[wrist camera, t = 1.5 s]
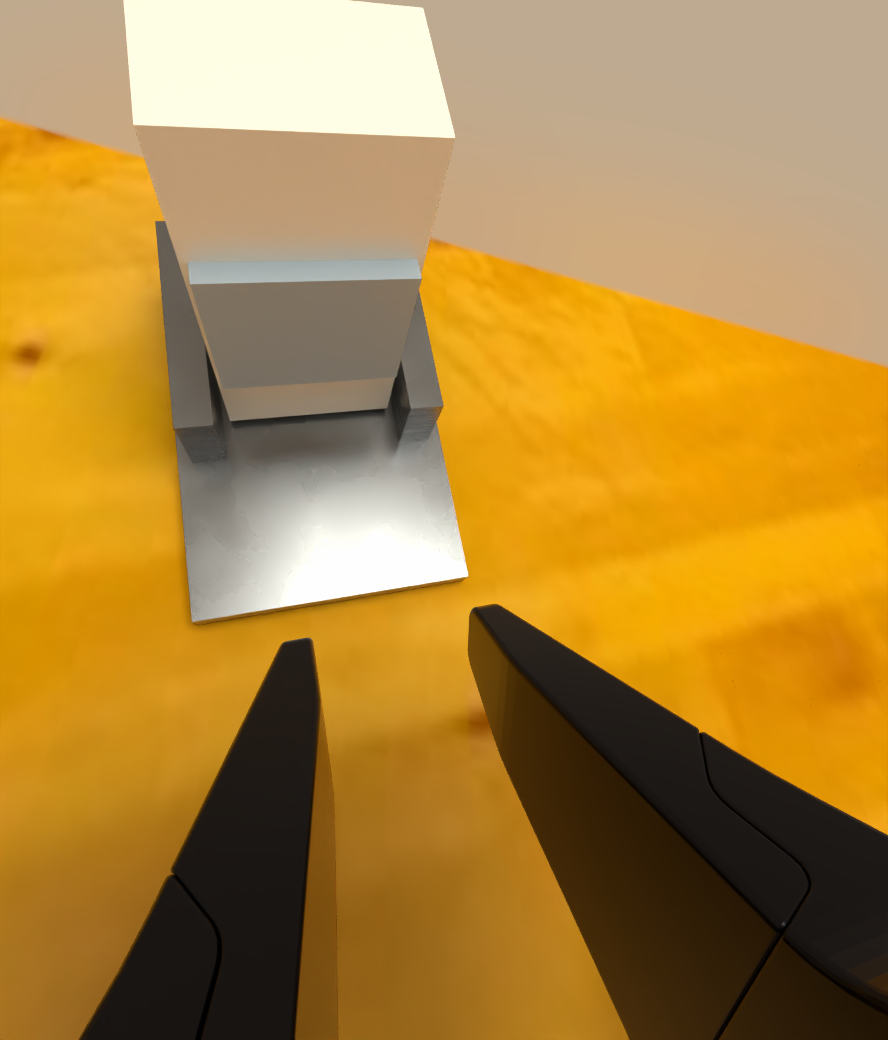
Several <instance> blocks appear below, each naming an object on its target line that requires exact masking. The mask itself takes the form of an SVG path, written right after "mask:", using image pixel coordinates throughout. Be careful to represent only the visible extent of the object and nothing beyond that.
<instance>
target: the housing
mask: <svg viewBox="0 0 888 1040" xmlns="http://www.w3.org/2000/svg"><path fill="white" fill-rule="evenodd" d="M155 223H156V234H157V246H158V257H159V268H160V280H161V291H162V303H163V314H164V326H165V337H166V349H167V360H168V371H169V383H170V394H171V406H172V417H173V429H174V430H175V435H176V446H177V458H178V469H179V480H180V492H181V503H182V514H183V526H184V537H185V548H186V560H187V571H188V582H189V594H190V605H191V617H192V622H193V623H195V624H197V625H200V624H206V623H212V622H218V621H224V620H230V619H236V618H242V617H248V616H254V615H260V614H266V613H272V612H278V611H284V610H290V609H296V608H302V607H308V606H314V605H320V604H326V603H332V602H338V601H344V600H350V599H356V598H362V597H368V596H374V595H380V594H386V593H392V592H398V591H404V590H410V589H416V588H423V587H429V586H435V585H441V584H447V583H453V582H459V581H463V580H464V579H466V578H467V577H468V572H467V567H466V562H465V558H464V553H463V548H462V543H461V538H460V533H459V529H458V524H457V519H456V514H455V509H454V505H453V500H452V495H451V490H450V485H449V481H448V476H447V471H446V466H445V461H444V456H443V452H442V447H441V442H440V437H439V432H438V428H437V423H436V421H437V419H438V417H439V415H440V413H441V410H442V408H443V402H442V397H441V392H440V387H439V383H438V378H437V373H436V369H435V364H434V359H433V355H432V350H431V345H430V340H429V336H428V331H427V326H426V322H425V317H424V312H423V307H422V303H421V298H420V293H419V291H418V295H417V299H416V303H415V307H414V310H413V314H412V318H411V322H410V326H409V330H408V334H407V338H406V342H405V346H404V349H403V353H402V357H401V361H400V365H399V369H398V373H397V377H395V379H394V383H393V387H392V391H391V395H390V399H389V403H388V407H387V408H383V409H371V410H359V411H347V412H334V413H322V414H310V415H298V416H286V417H274V418H262V419H249V420H237V421H230V419H229V416H228V413H227V410H226V407H225V404H224V401H223V398H222V395H221V391H220V388H219V385H218V382H217V379H216V376H215V373H214V370H213V367H212V364H211V361H210V358H209V355H208V352H207V348H206V345H205V342H204V339H203V336H202V333H201V330H200V327H199V324H198V321H197V318H196V315H195V312H194V309H193V306H192V302H191V299H190V296H189V293H188V290H187V287H186V284H185V281H184V278H183V275H182V272H181V269H180V266H179V263H178V260H177V256H176V253H175V250H174V247H173V244H172V241H171V238H170V235H169V232H168V229H167V226H166V223H165V221H155Z"/></svg>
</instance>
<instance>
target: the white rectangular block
mask: <svg viewBox="0 0 888 1040" xmlns="http://www.w3.org/2000/svg"><path fill="white" fill-rule="evenodd" d="M124 11H125V23H126V35H127V48H128V61H129V73H130V86H131V98H132V111H133V123H134V127H135V131H136V134H137V136H138V140H139V143H140V146H141V149H142V152H143V155H144V158H145V161H146V164H147V167H148V171H149V174H150V177H151V180H152V183H153V186H154V189H155V192H156V195H157V198H158V201H159V204H160V207H161V210H162V213H163V217H164V220H165V223H166V226H167V229H168V232H169V235H170V238H171V241H172V244H173V247H174V250H175V253H176V256H177V260H178V263H179V266H180V269H181V272H182V275H183V278H184V281H185V284H186V287H187V290H188V293H189V296H190V299H191V302H192V306H193V309H194V312H195V315H196V318H197V321H198V324H199V327H200V330H201V333H202V336H203V339H204V342H205V345H206V348H207V352H208V355H209V358H210V361H211V364H212V367H213V370H214V373H215V376H216V379H217V382H218V385H219V388H220V391H221V395H222V398H223V401H224V404H225V407H226V410H227V413H228V416H229V419H230V421H237V420H249V419H262V418H274V417H286V416H298V415H310V414H322V413H334V412H347V411H359V410H371V409H383V408H387V407H388V403H389V399H390V395H391V391H392V387H393V383H394V379H395V377H397V373H398V369H399V365H400V361H401V357H402V353H403V349H404V346H405V342H406V338H407V334H408V330H409V326H410V322H411V318H412V314H413V310H414V307H415V303H416V299H417V295H418V291H419V287H420V283H421V279H422V278H421V272H422V268H423V264H424V260H425V256H426V253H427V249H428V245H429V241H430V237H431V233H432V228H433V225H434V220H435V217H436V213H437V209H438V205H439V201H440V197H441V193H442V189H443V185H444V181H445V177H446V173H447V169H448V165H449V161H450V157H451V154H452V150H453V145H454V142H455V134H454V130H453V126H452V123H451V118H450V114H449V111H448V107H447V102H446V98H445V94H444V90H443V87H442V82H441V78H440V75H439V70H438V67H437V62H436V58H435V54H434V50H433V46H432V42H431V38H430V34H429V30H428V26H427V22H426V18H425V14H424V10H423V8H418V7H408V6H398V5H388V4H378V3H368V2H358V1H348V0H124Z"/></svg>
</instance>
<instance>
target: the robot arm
mask: <svg viewBox="0 0 888 1040" xmlns="http://www.w3.org/2000/svg"><path fill="white" fill-rule="evenodd" d="M468 656H469V662H470V666H471V669H472V672H473V675H474V678H475V681H476V684H477V687H478V690H479V693H480V696H481V699H482V703H483V706H484V709H485V712H486V715H487V718H488V721H489V724H490V727H491V730H492V733H493V736H494V739H495V742H496V745H497V748H498V751H499V754H500V756H501V759H502V761H503V763H504V766H505V768H506V771H507V773H508V775H509V777H510V779H511V782H512V784H513V786H514V788H515V790H516V792H517V795H518V797H519V799H520V801H521V803H522V806H523V808H524V810H525V812H526V814H527V816H528V819H529V821H530V823H531V825H532V827H533V830H534V832H535V834H536V836H537V838H538V840H539V843H540V845H541V847H542V849H543V851H544V854H545V856H546V858H547V860H548V862H549V864H550V867H551V869H552V871H553V873H554V875H555V878H556V880H557V882H558V884H559V886H560V888H561V891H562V893H563V895H564V897H565V899H566V902H567V904H568V906H569V908H570V910H571V912H572V915H573V917H574V919H575V921H576V923H577V926H578V928H579V930H580V932H581V934H582V936H583V939H584V941H585V943H586V945H587V947H588V950H589V952H590V954H591V956H592V958H593V960H594V963H595V965H596V967H597V969H598V971H599V974H600V976H601V978H602V980H603V982H604V984H605V987H606V989H607V991H608V993H609V995H610V998H611V1000H612V1002H613V1004H614V1006H615V1008H616V1011H617V1013H618V1015H619V1017H620V1019H621V1022H622V1024H623V1026H624V1028H625V1030H626V1032H627V1035H628V1037H629V1039H630V1040H888V835H887V834H885V833H883V832H881V831H879V830H877V829H875V828H873V827H871V826H869V825H868V824H866V823H864V822H862V821H860V820H858V819H856V818H854V817H852V816H850V815H849V814H847V813H845V812H843V811H841V810H839V809H837V808H835V807H833V806H832V805H830V804H828V803H826V802H824V801H822V800H820V799H818V798H817V797H815V796H813V795H811V794H809V793H807V792H806V791H804V790H802V789H800V788H798V787H797V786H795V785H793V784H791V783H789V782H787V781H786V780H784V779H782V778H780V777H778V776H776V775H775V774H773V773H771V772H769V771H768V770H766V769H764V768H763V767H761V766H759V765H758V764H756V763H754V762H753V761H751V760H749V759H748V758H746V757H744V756H743V755H741V754H739V753H738V752H736V751H734V750H732V749H731V748H729V747H728V746H726V745H724V744H723V743H721V742H720V741H718V740H716V739H715V738H713V737H711V736H710V735H708V734H707V733H705V732H701V733H699V730H698V728H697V727H695V726H693V725H692V724H690V723H689V722H687V721H685V720H684V719H682V718H681V717H679V716H677V715H676V714H674V713H672V712H671V711H669V710H668V709H666V708H664V707H663V706H661V705H660V704H658V703H656V702H655V701H653V700H652V699H650V698H648V697H647V696H645V695H644V694H642V693H640V692H639V691H637V690H635V689H634V688H632V687H631V686H629V685H627V684H626V683H624V682H623V681H621V680H619V679H618V678H616V677H615V676H613V675H611V674H610V673H608V672H606V671H605V670H603V669H602V668H600V667H598V666H597V665H595V664H594V663H592V662H590V661H589V660H587V659H586V658H584V657H582V656H581V655H579V654H578V653H576V652H574V651H573V650H571V649H569V648H568V647H566V646H565V645H563V644H561V643H560V642H558V641H557V640H555V639H553V638H552V637H550V636H549V635H547V634H545V633H544V632H542V631H541V630H539V629H537V628H536V627H534V626H532V625H531V624H529V623H528V622H526V621H524V620H523V619H521V618H520V617H518V616H516V615H515V614H513V613H512V612H510V611H508V610H507V609H505V608H503V607H502V606H500V605H498V604H491V605H485V606H480V607H475V608H473V609H472V610H471V612H470V615H469V635H468ZM171 873H172V875H169V876H167V877H166V879H165V881H164V883H163V885H162V887H161V889H160V891H159V893H158V895H157V897H156V899H155V901H154V903H153V905H152V907H151V909H150V911H149V914H148V915H147V917H146V919H145V921H144V923H143V925H142V927H141V929H140V931H139V933H138V935H137V936H136V938H135V940H134V942H133V944H132V946H131V948H130V950H129V952H128V954H127V956H126V957H125V959H124V961H123V963H122V965H121V967H120V969H119V971H118V973H117V975H116V976H115V978H114V980H113V981H112V983H111V985H110V987H109V988H108V990H107V992H106V993H105V995H104V997H103V999H102V1000H101V1002H100V1004H99V1005H98V1007H97V1009H96V1011H95V1012H94V1014H93V1016H92V1017H91V1019H90V1021H89V1023H88V1024H87V1026H86V1028H85V1029H84V1031H83V1033H82V1035H81V1036H80V1038H79V1040H338V988H337V923H336V859H335V808H334V792H333V783H332V775H331V767H330V760H329V753H328V745H327V738H326V730H325V723H324V715H323V708H322V701H321V693H320V686H319V679H318V672H317V665H316V658H315V652H314V645H313V640H312V639H311V638H303V639H297V640H292V641H286V642H284V643H282V644H281V646H280V648H279V649H278V651H277V654H276V656H275V658H274V660H273V662H272V664H271V666H270V668H269V670H268V672H267V674H266V676H265V678H264V680H263V682H262V684H261V686H260V688H259V690H258V692H257V694H256V696H255V698H254V700H253V702H252V704H251V706H250V708H249V711H248V713H247V715H246V717H245V719H244V721H243V723H242V725H241V727H240V729H239V731H238V733H237V735H236V737H235V739H234V741H233V743H232V745H231V747H230V749H229V751H228V753H227V755H226V757H225V759H224V761H223V763H222V766H221V768H220V770H219V772H218V774H217V776H216V778H215V780H214V782H213V784H212V786H211V788H210V790H209V792H208V794H207V796H206V798H205V800H204V802H203V804H202V806H201V808H200V810H199V812H198V814H197V816H196V818H195V820H194V823H193V825H192V827H191V829H190V831H189V833H188V835H187V837H186V839H185V841H184V843H183V845H182V847H181V849H180V851H179V853H178V855H177V857H176V859H175V861H174V863H173V865H172V867H171Z"/></svg>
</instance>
